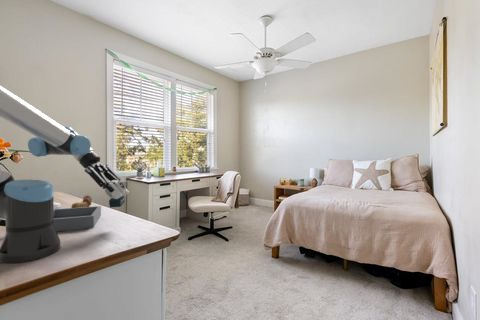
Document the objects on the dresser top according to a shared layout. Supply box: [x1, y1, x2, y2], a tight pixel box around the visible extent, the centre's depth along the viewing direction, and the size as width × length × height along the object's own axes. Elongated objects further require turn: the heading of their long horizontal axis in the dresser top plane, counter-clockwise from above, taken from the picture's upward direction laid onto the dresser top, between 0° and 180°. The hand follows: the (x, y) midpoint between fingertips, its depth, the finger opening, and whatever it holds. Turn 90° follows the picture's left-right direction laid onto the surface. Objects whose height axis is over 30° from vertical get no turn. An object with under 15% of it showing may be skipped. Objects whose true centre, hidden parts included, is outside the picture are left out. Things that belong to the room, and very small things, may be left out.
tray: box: [53, 205, 102, 232], centre depth 108 cm, size 20×20×5 cm
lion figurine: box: [70, 194, 93, 208], centre depth 124 cm, size 15×5×9 cm, turn 0°
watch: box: [104, 180, 127, 208], centre depth 104 cm, size 6×8×11 cm
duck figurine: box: [53, 201, 62, 209], centre depth 123 cm, size 12×8×11 cm
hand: (123, 195), depth 103 cm, fingers closed on watch, 5 cm apart
